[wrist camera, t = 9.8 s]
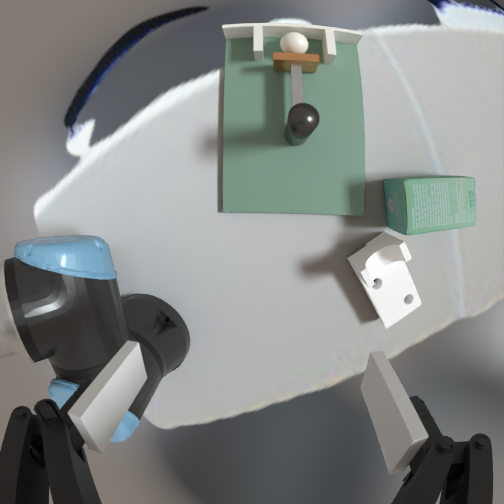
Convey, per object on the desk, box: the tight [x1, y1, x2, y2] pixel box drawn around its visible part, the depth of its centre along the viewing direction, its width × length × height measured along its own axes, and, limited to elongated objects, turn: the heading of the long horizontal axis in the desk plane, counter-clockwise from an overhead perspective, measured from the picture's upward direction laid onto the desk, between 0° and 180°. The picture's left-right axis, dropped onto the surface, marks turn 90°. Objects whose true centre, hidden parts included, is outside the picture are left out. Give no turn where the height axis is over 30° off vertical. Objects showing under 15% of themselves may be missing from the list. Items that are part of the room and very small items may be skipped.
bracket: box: [347, 232, 422, 329], centre depth 36 cm, size 13×7×8 cm, turn 35°
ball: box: [280, 32, 308, 53], centre depth 29 cm, size 4×4×4 cm
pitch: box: [222, 23, 365, 216], centre depth 33 cm, size 20×28×4 cm
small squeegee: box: [273, 52, 320, 146], centre depth 28 cm, size 6×13×10 cm, turn 0°
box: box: [383, 176, 476, 235], centre depth 32 cm, size 7×14×8 cm, turn 99°
